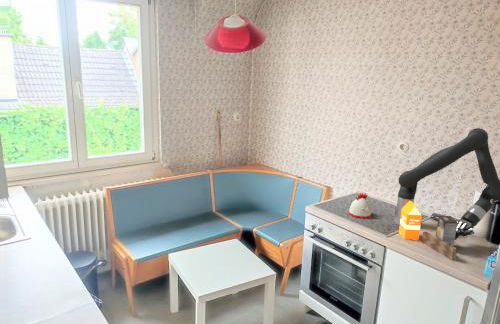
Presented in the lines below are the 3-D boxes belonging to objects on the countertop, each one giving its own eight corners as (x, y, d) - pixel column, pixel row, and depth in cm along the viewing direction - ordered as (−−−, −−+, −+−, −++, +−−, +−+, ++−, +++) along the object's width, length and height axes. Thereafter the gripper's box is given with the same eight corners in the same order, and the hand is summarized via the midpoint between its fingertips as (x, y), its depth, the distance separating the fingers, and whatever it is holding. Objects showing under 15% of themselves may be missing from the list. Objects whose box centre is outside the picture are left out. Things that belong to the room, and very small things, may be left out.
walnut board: (421, 242, 187) (423, 231, 186) (424, 241, 188) (426, 231, 186) (451, 260, 168) (453, 249, 167) (454, 259, 169) (456, 248, 167)
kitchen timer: (375, 217, 220) (377, 195, 216) (356, 219, 216) (358, 197, 213) (362, 210, 233) (364, 189, 229) (344, 211, 229) (346, 190, 226)
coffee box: (433, 242, 187) (438, 214, 183) (446, 243, 186) (450, 215, 182) (440, 250, 178) (444, 221, 174) (453, 251, 177) (458, 222, 174)
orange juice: (412, 233, 198) (416, 200, 194) (418, 239, 190) (423, 206, 185) (398, 232, 199) (402, 199, 194) (404, 239, 190) (408, 205, 185)
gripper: (460, 206, 187) (438, 229, 186) (482, 215, 174) (459, 240, 174) (466, 215, 189) (445, 237, 189) (488, 224, 177) (465, 248, 177)
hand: (452, 239), depth 182 cm, fingers closed
